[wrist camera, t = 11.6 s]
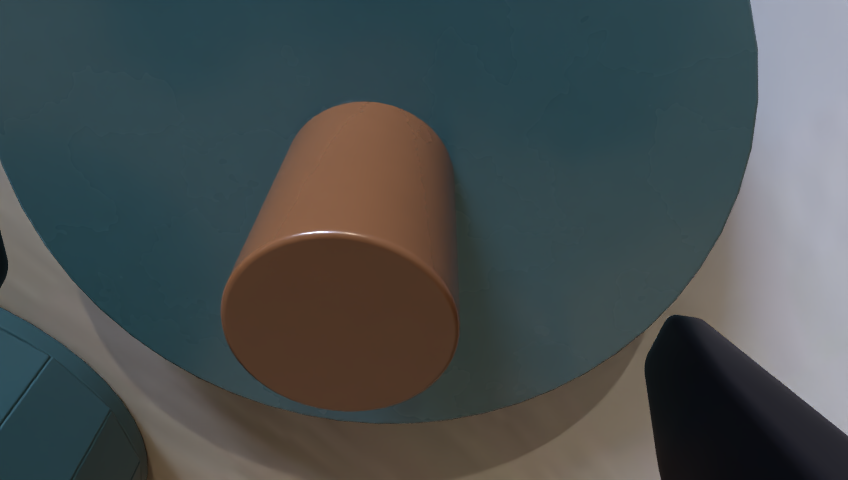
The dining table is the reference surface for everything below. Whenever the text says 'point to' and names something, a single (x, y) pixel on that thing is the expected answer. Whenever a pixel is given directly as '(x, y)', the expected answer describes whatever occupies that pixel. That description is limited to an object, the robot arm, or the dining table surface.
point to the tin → (60, 413)
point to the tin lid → (379, 183)
